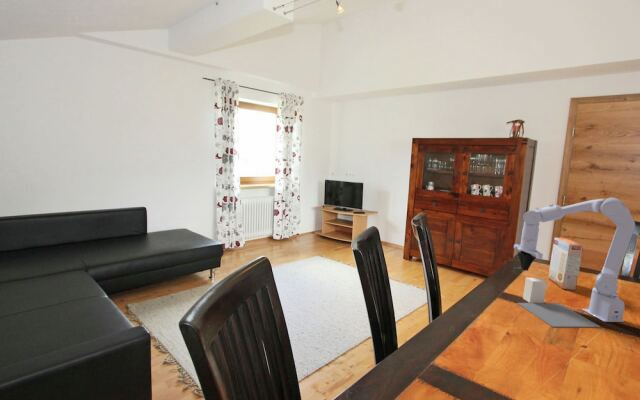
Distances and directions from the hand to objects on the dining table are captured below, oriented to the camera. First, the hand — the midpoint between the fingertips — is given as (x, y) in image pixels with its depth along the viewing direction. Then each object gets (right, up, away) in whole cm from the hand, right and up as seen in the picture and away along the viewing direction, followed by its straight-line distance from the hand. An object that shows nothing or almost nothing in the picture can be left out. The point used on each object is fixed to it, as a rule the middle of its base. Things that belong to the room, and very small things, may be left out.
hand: (524, 269), depth 142 cm
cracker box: (+26, -10, +15) cm, 32 cm away
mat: (+1, -13, -17) cm, 22 cm away
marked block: (0, -11, -5) cm, 13 cm away
